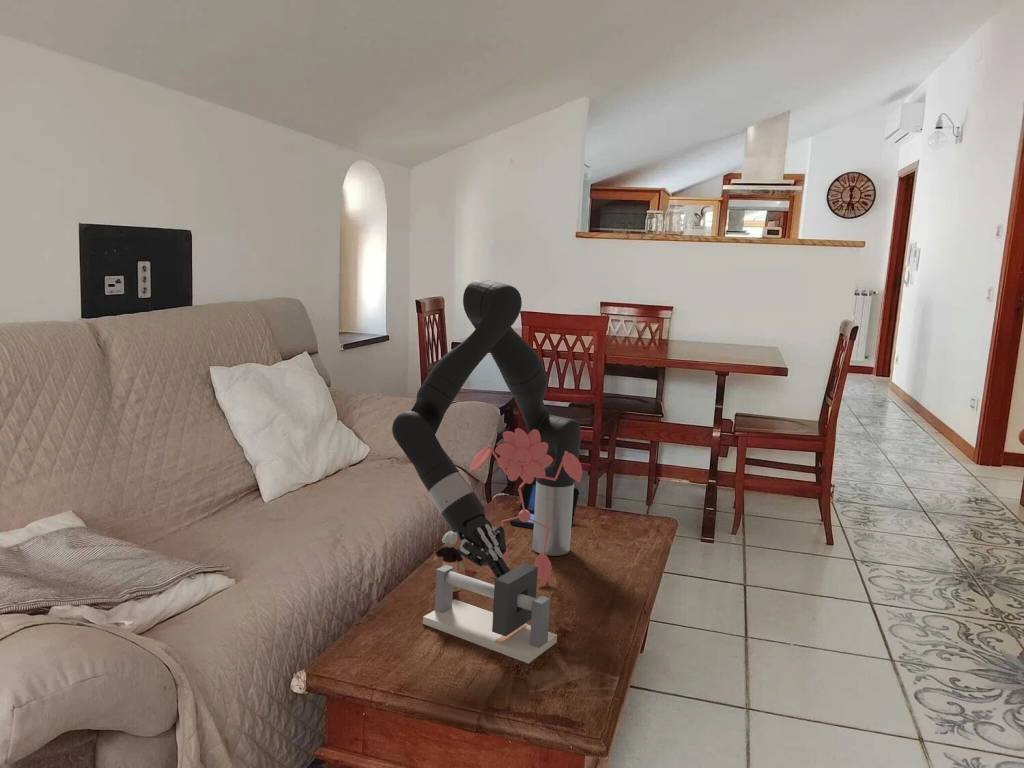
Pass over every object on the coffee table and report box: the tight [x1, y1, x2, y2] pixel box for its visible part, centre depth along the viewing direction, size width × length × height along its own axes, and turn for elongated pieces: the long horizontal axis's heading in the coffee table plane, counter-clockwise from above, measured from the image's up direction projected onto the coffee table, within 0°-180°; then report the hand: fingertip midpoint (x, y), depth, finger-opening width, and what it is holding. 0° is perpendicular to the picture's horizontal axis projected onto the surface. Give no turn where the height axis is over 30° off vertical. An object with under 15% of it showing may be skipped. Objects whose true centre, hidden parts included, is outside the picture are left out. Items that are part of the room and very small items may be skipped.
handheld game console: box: [509, 480, 580, 529], centre depth 215 cm, size 16×13×9 cm
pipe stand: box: [422, 565, 558, 665], centre depth 150 cm, size 10×24×10 cm, turn 57°
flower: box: [469, 427, 583, 598], centre depth 171 cm, size 15×26×35 cm, turn 72°
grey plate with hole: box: [492, 562, 538, 636], centre depth 147 cm, size 10×3×10 cm, turn 147°
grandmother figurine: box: [433, 530, 465, 593], centre depth 169 cm, size 8×4×13 cm, turn 71°
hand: (506, 579), depth 147 cm, fingers closed
